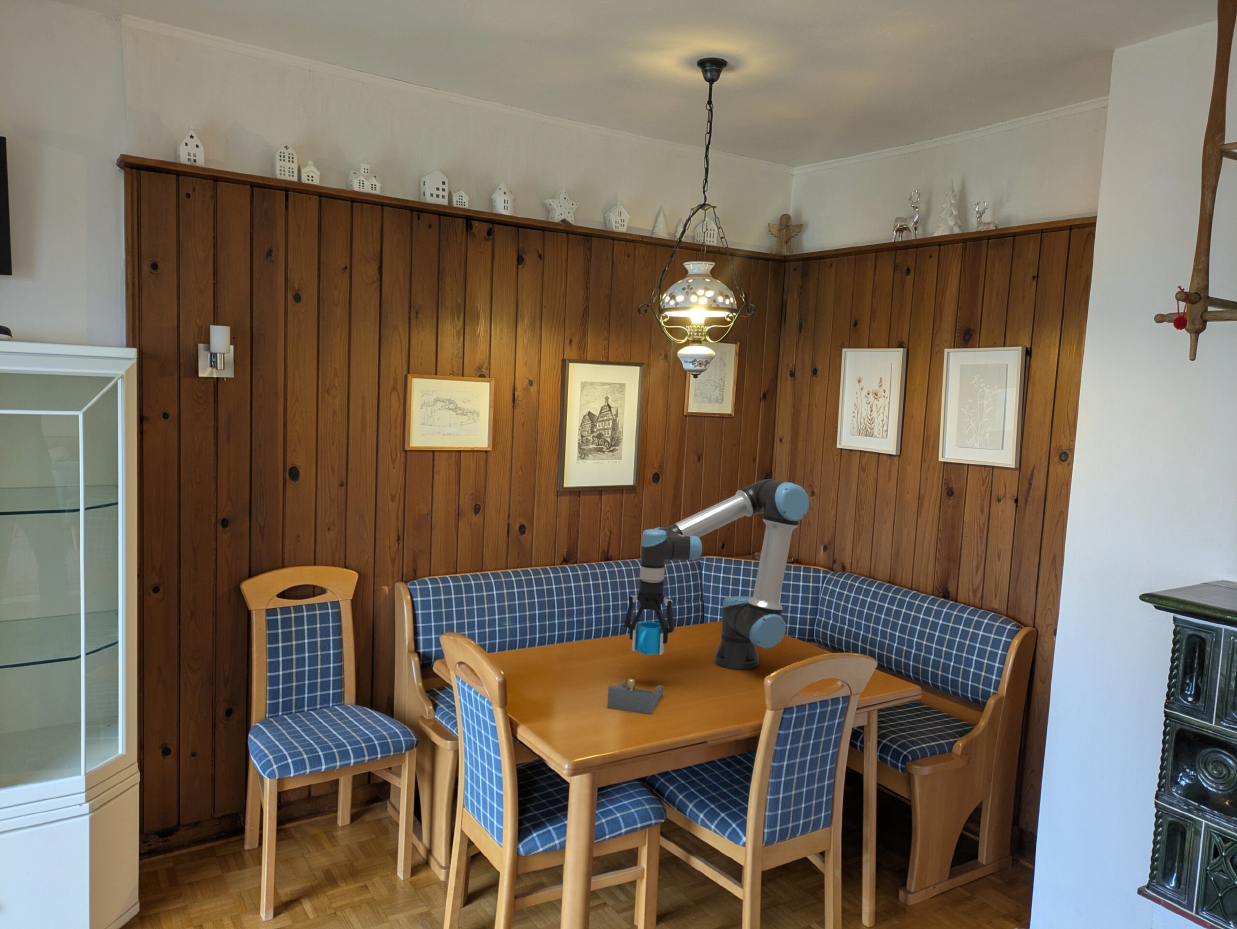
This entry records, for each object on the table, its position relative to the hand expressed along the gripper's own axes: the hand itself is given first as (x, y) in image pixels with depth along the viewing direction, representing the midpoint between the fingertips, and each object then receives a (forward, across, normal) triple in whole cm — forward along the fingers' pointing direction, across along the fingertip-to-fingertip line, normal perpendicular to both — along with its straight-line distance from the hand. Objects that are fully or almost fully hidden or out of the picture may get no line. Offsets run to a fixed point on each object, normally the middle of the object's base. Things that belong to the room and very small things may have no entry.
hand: (647, 651), depth 272 cm
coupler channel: (+11, 0, +14) cm, 18 cm away
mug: (0, 0, 0) cm, 1 cm away
